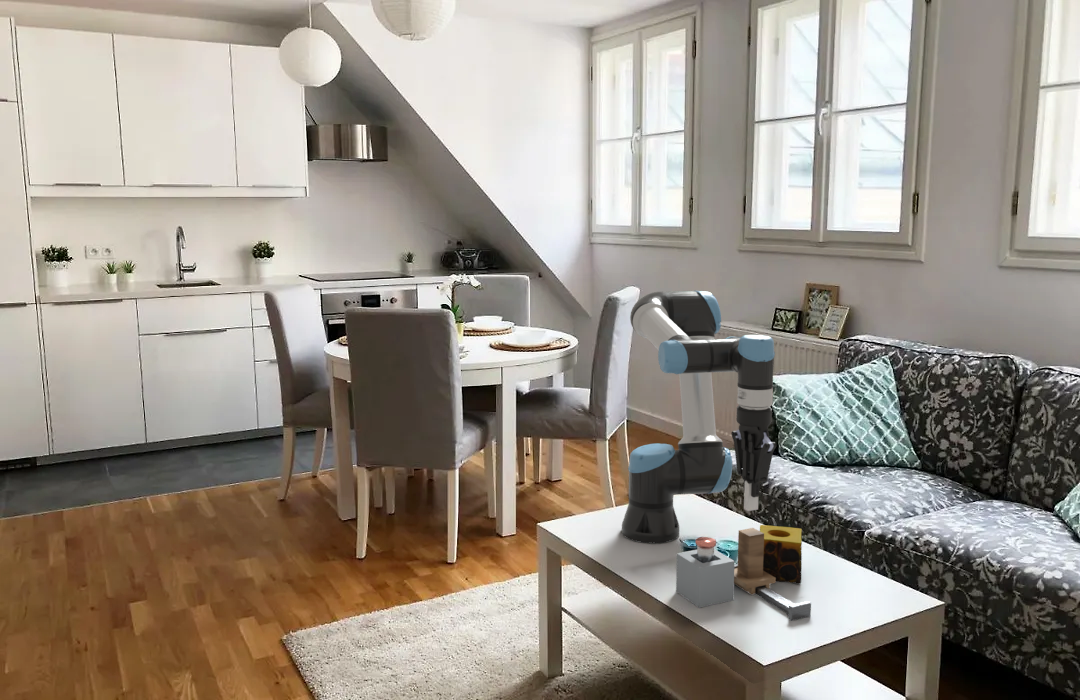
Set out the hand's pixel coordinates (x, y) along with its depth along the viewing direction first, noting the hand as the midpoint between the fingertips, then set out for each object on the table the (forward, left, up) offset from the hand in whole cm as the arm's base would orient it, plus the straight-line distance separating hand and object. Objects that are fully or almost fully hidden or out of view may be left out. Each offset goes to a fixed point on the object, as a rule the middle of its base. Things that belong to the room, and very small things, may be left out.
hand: (750, 509), depth 199 cm
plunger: (0, -12, -9) cm, 15 cm away
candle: (-3, +11, -19) cm, 22 cm away
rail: (+6, 0, -18) cm, 19 cm away
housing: (0, -12, -18) cm, 22 cm away
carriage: (0, 0, -18) cm, 18 cm away
